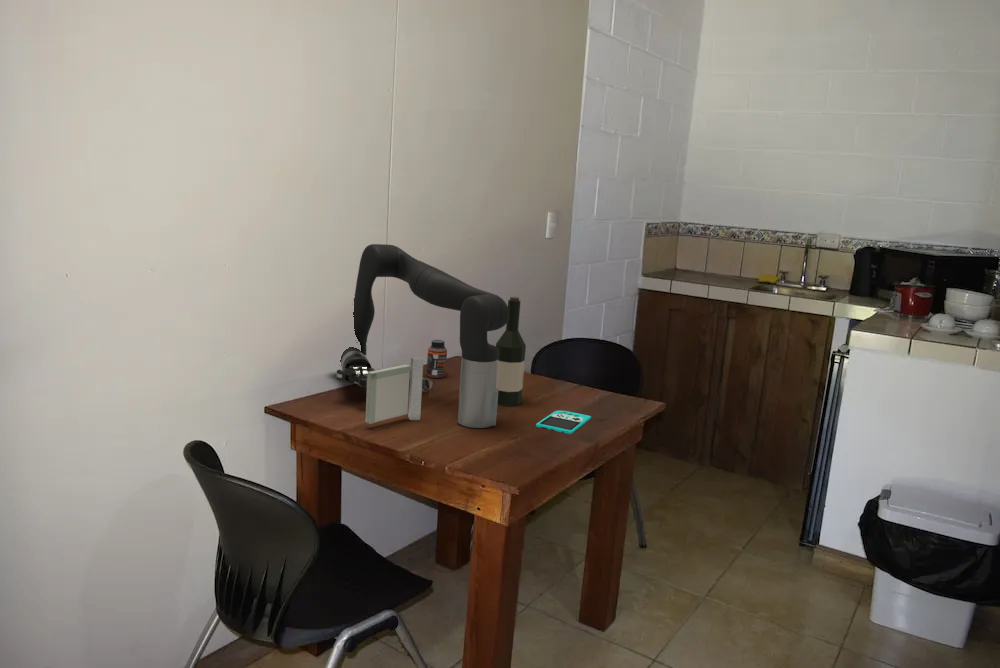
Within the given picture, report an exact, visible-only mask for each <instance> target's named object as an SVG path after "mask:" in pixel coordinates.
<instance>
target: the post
mask: <svg viewBox="0 0 1000 668" xmlns="http://www.w3.org/2000/svg"><path fill="white" fill-rule="evenodd" d="M423 373H424V359H423V357H422V356H411V357H410V374H409V394H408V414H407V417H408V419H409V420H410V421H420V420H421V413H422V412H421V411H422V393H423Z"/></svg>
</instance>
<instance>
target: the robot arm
mask: <svg viewBox="0 0 1000 668" xmlns="http://www.w3.org/2000/svg"><path fill="white" fill-rule="evenodd" d="M377 278H395V279H398V280H401V281H403V282H405V283H407V284H408V287H409V289H410V291H411V292H412V293H413V295H415V296H416V297H417V298H418V299H421V300H422V301H425V302H426V303H428V304H430V305H432V306H436V307H438V308H443V309H447V310H454V311H459V312H460V313H459V344H460V349H461V363H460V380H459V394H458V395H459V396H458V397H459V398H458V408H457V409H458V411H457V412H458V413H457V423H458V424H459V425H460V426H463V427H466V428H472V429H485V428H490V427H493V426H494V427H495V426H496V425H497V413H498V405H497V403H498V389H497V388H496V381H497V367H498V353H499V351H498V348H497V347H496V345H493V344H490V343H489V342H488V332H493V331H497V330H500V329H502V328H504V326H506V323H507V322H508V320H509V309H508V303H507V302H506V301H505V300H504V298H502V297H500V296H499V295H498V294H495V293H491V292H490V291H489V292H488V291H486V290H483V289H479V288H476V287H474V286H472V285H470V284H468V283H466V282H464V281H462V280H461V279H459V278H457V277H455V276H453V275H451V274H448V273H447V272H445V271H443V270H441V269H439V268H437V267H435V266H432V265H430V264H428V263H426V262H424V261H421V260H418V259H417V258H415V257H413V256H411V255H410V253H409V254H408V253H407V252H406V251H404V249H401V248H400V247H399V246H396V245H393V244H385V243H383V244H381V243H379V244H378V243H372V244H369V245H367V246H366V247H365V248H364V249H363V251H362V253H361V257H360V260H359V266H358V272H357V277H356V282H355V283H356V285H355V289H354V290H355V291H354V296H355V297H353V301H354V312H353V315H354V316H353V317H354V329H355V330H354V331H355V335H356V337H357V339H358V341H359V342H360V345H361V351H360V350H359V349H357V348H354V347H349V348H348V349H346V350H345V351H344V352H343V354H342V356H341V360H340V362H341V366H340V367H341V369H337V370H336V380H337V381H341V382H344V383H348V384H357V385H358V386H359V387H361V388H367V372H370V371H375V369H374V368H372V365H371V363H370V361H369V359H368V358H367V345H366V343H367V342H368V335H369V333H370V330H371V327H372V324H373V322H374V318H375V314H376V313H375V304H374V300H373V294H372V291H373V290H372V289H373V286H374V283H375V280H376V279H377ZM367 344H368V343H367ZM365 355H366V356H365ZM381 369H382V368H381ZM381 369H379V370H381Z"/></svg>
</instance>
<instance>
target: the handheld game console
mask: <svg viewBox="0 0 1000 668" xmlns="http://www.w3.org/2000/svg"><path fill="white" fill-rule="evenodd" d="M591 419H592V416H591V415H587V414H582V413H577V412H572V411H568V410H555V411H553V412H552V413H550V414H549V415H548V416H545V417H544V418H543V419H542V420H540V421H538V422H537V423H536V424H535V427H537V428H542V429H545V430H550V431H552V430H554V431H555V432H559V433H564V434H569V435H572V434H573V433H574V432H576V431H577V430H578V429H579V428H581V427H582V426H583V425H585V424H586V423H587V422H588V421H590V420H591Z"/></svg>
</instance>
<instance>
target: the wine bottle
mask: <svg viewBox="0 0 1000 668" xmlns="http://www.w3.org/2000/svg"><path fill="white" fill-rule="evenodd" d="M507 306H508V309H509V320H508V322H507V323H506V324H505V330H504V332H503V333H502V335H501V336H500V338H499V339H498V340H497V341H496V343H495V346H496V347H497V348H498V351H499V353H498V367H497V381H496V388H497V389H498V403H497V406H502V407H503V406H504V407H516V406H517V407H518V406H519V405H520V404H522V398H523V397H522V395H523V387H524V386H523V385H524V375H525V374H524V372H525V361H526V343H525V341H524V340H523V337H522V336H521V333H520V331H519V325H520V313H521V312H520V311H521V300H520V297H518V296H510V297H509V299H508V301H507Z"/></svg>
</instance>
